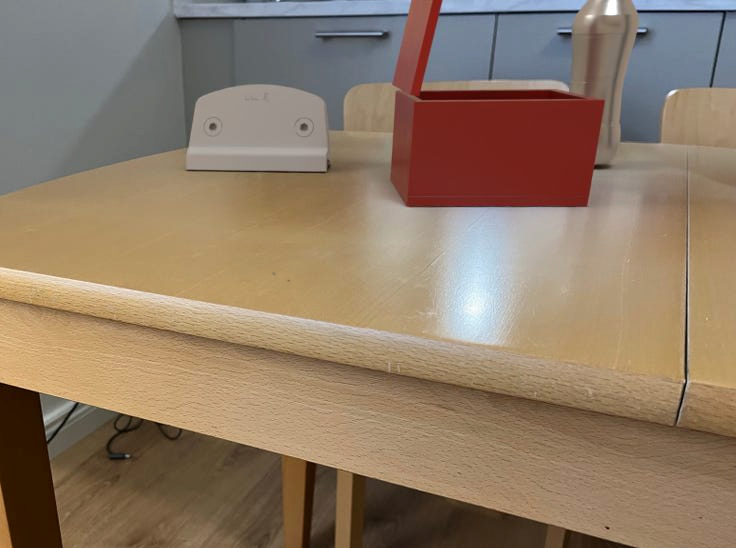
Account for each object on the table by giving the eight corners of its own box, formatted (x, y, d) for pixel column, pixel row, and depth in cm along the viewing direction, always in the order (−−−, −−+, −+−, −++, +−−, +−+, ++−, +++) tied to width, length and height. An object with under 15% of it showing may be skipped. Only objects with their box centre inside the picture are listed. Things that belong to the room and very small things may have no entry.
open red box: (543, 180, 78) (556, 89, 74) (587, 206, 66) (605, 99, 63) (390, 180, 79) (395, 90, 75) (407, 206, 67) (414, 101, 63)
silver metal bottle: (618, 171, 82) (655, -36, 74) (552, 169, 84) (581, -33, 76) (613, 162, 87) (647, -31, 79) (551, 160, 89) (578, -29, 81)
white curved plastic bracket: (182, 169, 85) (185, 79, 85) (192, 176, 90) (195, 91, 89) (329, 171, 83) (333, 79, 82) (331, 179, 88) (335, 91, 87)
